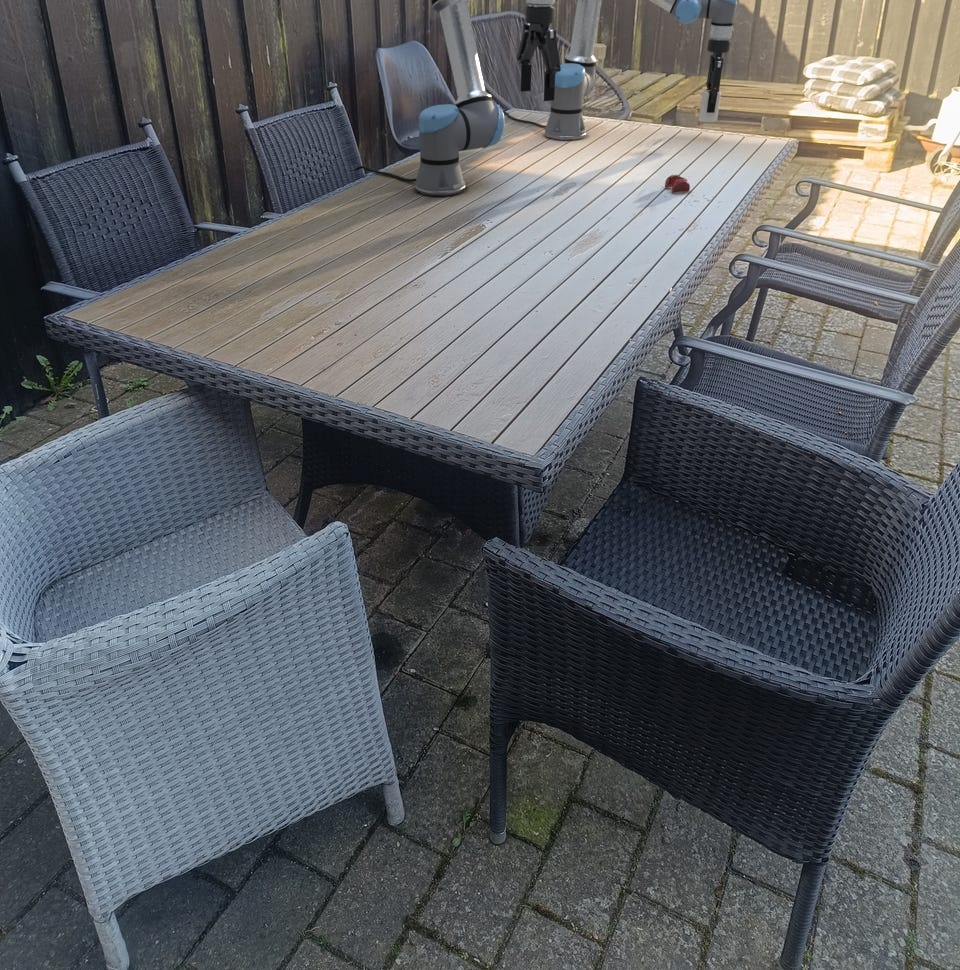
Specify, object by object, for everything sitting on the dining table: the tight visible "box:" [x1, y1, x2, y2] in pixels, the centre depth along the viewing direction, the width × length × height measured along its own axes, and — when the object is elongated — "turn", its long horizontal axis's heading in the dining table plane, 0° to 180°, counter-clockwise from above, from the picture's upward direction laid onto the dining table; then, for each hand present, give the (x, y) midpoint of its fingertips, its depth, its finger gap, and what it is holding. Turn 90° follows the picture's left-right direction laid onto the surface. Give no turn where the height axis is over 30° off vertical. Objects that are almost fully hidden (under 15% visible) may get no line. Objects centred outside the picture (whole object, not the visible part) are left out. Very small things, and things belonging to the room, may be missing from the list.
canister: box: [698, 89, 722, 123], centre depth 303 cm, size 7×7×10 cm
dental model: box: [664, 174, 691, 193], centre depth 257 cm, size 6×4×8 cm
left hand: (537, 95), depth 226 cm, fingers open, 13 cm apart
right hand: (709, 110), depth 304 cm, fingers closed on canister, 7 cm apart
